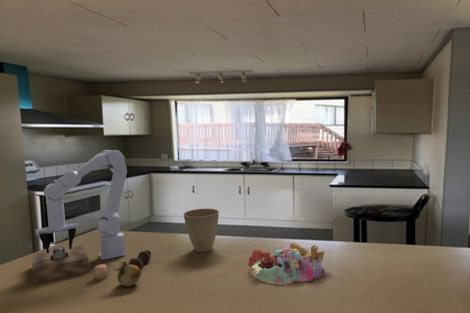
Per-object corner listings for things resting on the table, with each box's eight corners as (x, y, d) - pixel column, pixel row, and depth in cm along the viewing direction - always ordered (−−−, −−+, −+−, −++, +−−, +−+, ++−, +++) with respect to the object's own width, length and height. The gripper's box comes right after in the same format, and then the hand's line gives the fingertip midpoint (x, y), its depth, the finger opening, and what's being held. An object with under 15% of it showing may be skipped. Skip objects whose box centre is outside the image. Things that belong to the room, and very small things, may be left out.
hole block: (83, 257, 149) (82, 245, 149) (89, 271, 133) (88, 258, 133) (33, 266, 140) (32, 254, 140) (33, 283, 125) (32, 269, 124)
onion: (128, 292, 115) (127, 267, 114) (112, 287, 119) (110, 263, 118) (146, 282, 121) (144, 259, 120) (130, 278, 125) (128, 256, 125)
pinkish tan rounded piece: (103, 273, 130) (102, 263, 129) (109, 276, 127) (108, 265, 127) (93, 278, 127) (92, 267, 126) (99, 281, 124) (98, 270, 124)
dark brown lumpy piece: (149, 262, 145) (137, 276, 130) (138, 256, 145) (125, 270, 130) (156, 250, 145) (144, 262, 130) (145, 244, 145) (132, 256, 130)
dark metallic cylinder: (65, 266, 139) (63, 246, 139) (67, 269, 136) (65, 249, 135) (54, 269, 137) (52, 248, 137) (55, 272, 134) (53, 251, 133)
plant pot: (201, 241, 163) (199, 207, 162) (227, 246, 154) (225, 210, 153) (178, 251, 151) (175, 214, 150) (204, 257, 142) (202, 218, 141)
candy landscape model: (282, 254, 143) (282, 231, 142) (336, 269, 126) (335, 243, 126) (238, 274, 126) (237, 248, 125) (293, 294, 109) (292, 264, 108)
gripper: (34, 220, 128) (37, 257, 129) (78, 214, 135) (81, 249, 136) (34, 216, 134) (37, 252, 136) (76, 211, 141) (79, 244, 143)
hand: (59, 250), depth 136 cm, fingers open, 7 cm apart
